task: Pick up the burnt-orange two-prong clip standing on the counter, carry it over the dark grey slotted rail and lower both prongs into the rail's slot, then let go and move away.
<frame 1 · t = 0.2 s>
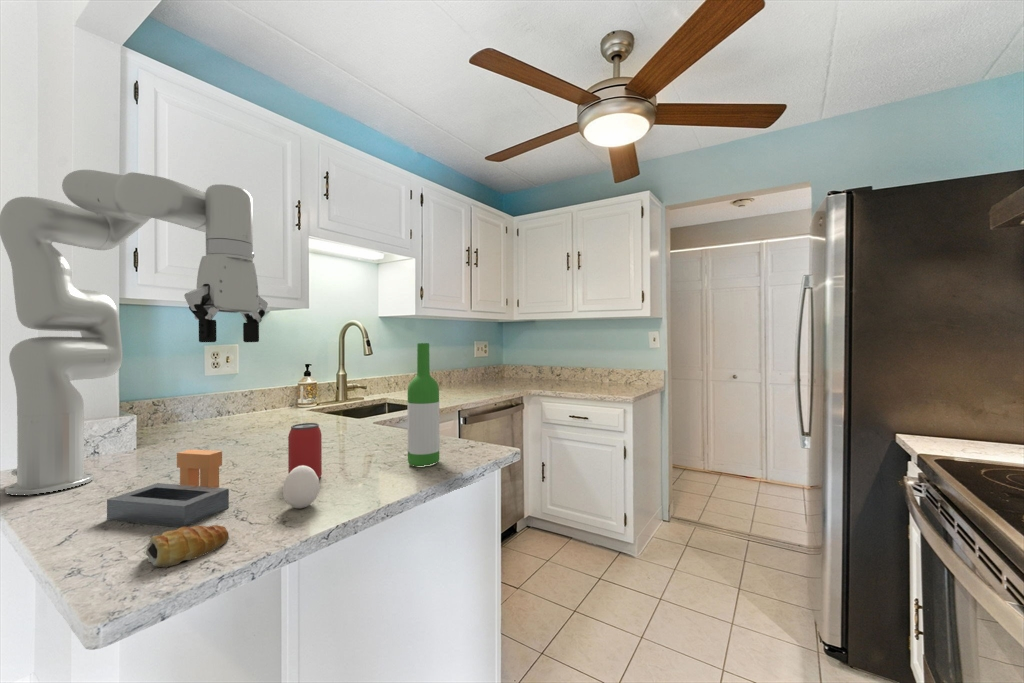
hand: (230, 342, 81), 30 cm above the counter, tool pointing down, fingers open, 9 cm apart
pastry: (184, 555, 61), on the counter
egg: (301, 508, 77), on the counter
beer can: (305, 480, 93), on the counter
clip: (199, 488, 88), on the counter
wine bottle: (423, 464, 104), on the counter
rail: (169, 513, 75), on the counter
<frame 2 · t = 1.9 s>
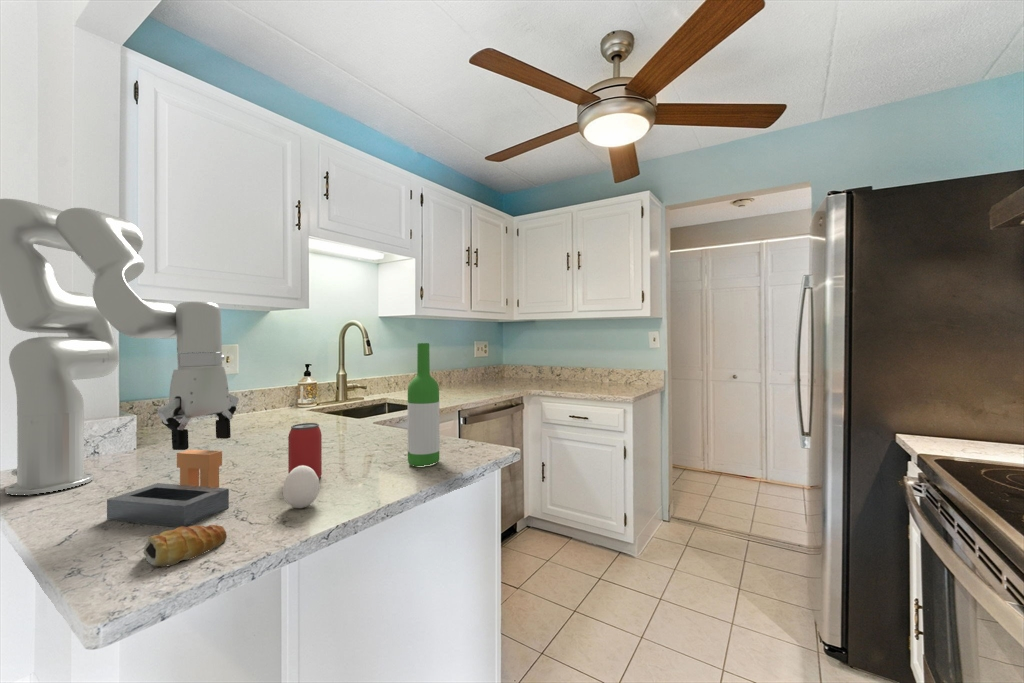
hand: (203, 443, 88), 9 cm above the counter, tool pointing down, fingers open, 9 cm apart
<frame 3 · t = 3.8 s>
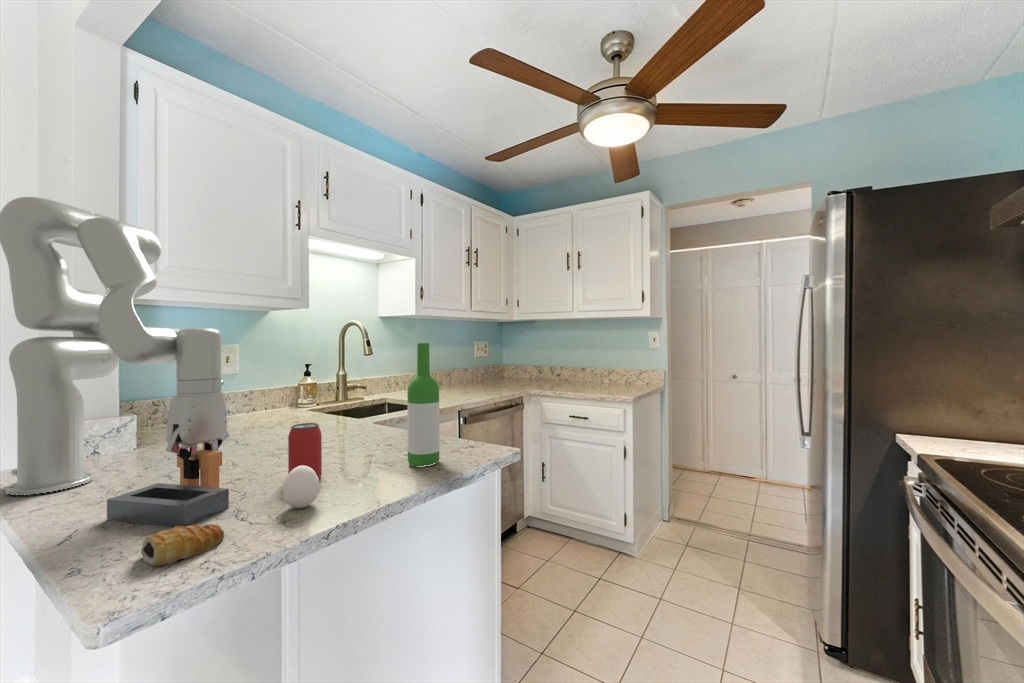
hand: (199, 474, 88), 3 cm above the counter, tool pointing down, fingers closed on clip, 3 cm apart
clip: (199, 488, 88), on the counter, touching gripper
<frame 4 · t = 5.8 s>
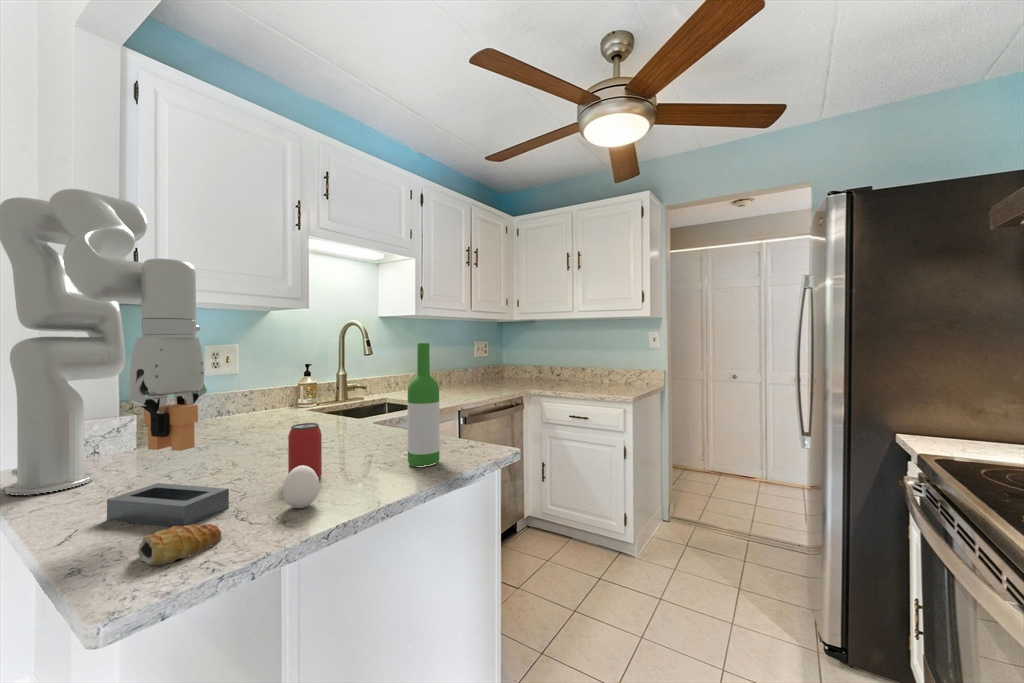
hand: (171, 433, 74), 14 cm above the counter, tool pointing down, fingers closed on clip, 3 cm apart
clip: (171, 448, 74), point 12 cm above the counter, touching gripper
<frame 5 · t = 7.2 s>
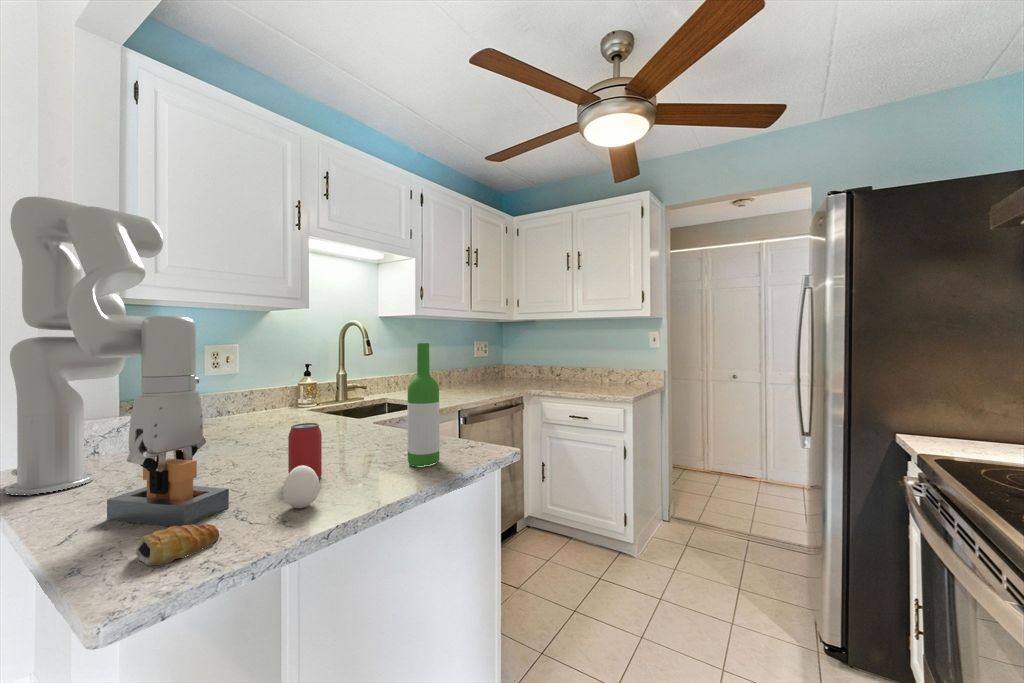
hand: (169, 488, 75), 4 cm above the counter, tool pointing down, fingers closed on clip, 3 cm apart
clip: (170, 503, 75), point 2 cm above the counter, touching gripper
when the fingers open (4 cm above the counter, at t = 8.0 s): clip drops 2 cm, resting in rail.
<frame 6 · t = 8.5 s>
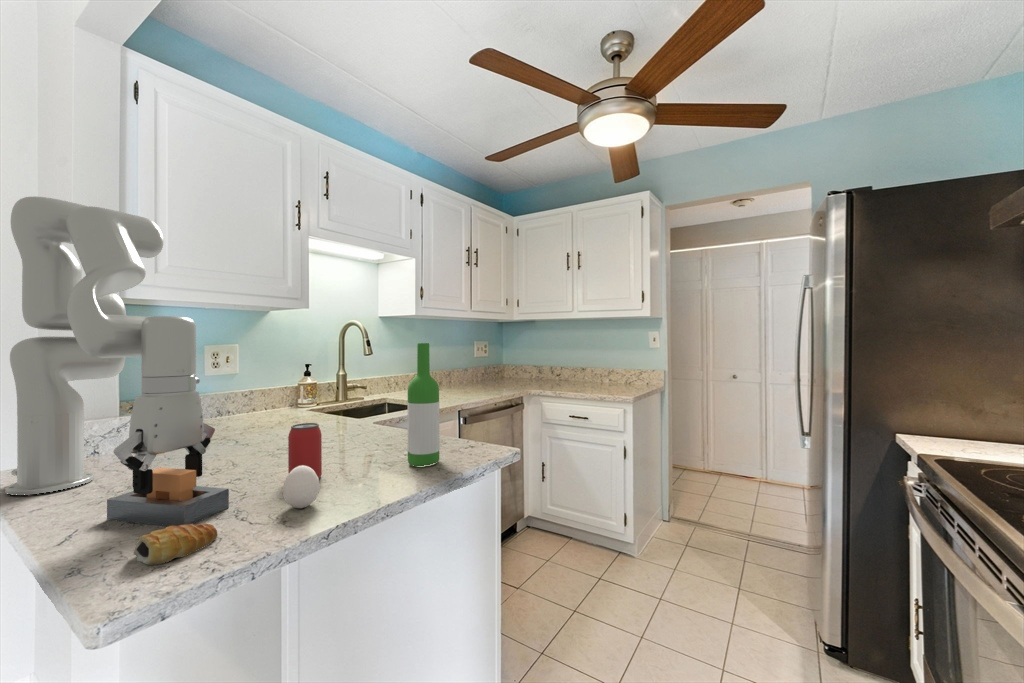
hand: (169, 483, 75), 5 cm above the counter, tool pointing down, fingers open, 8 cm apart
clip: (169, 513, 75), resting in rail
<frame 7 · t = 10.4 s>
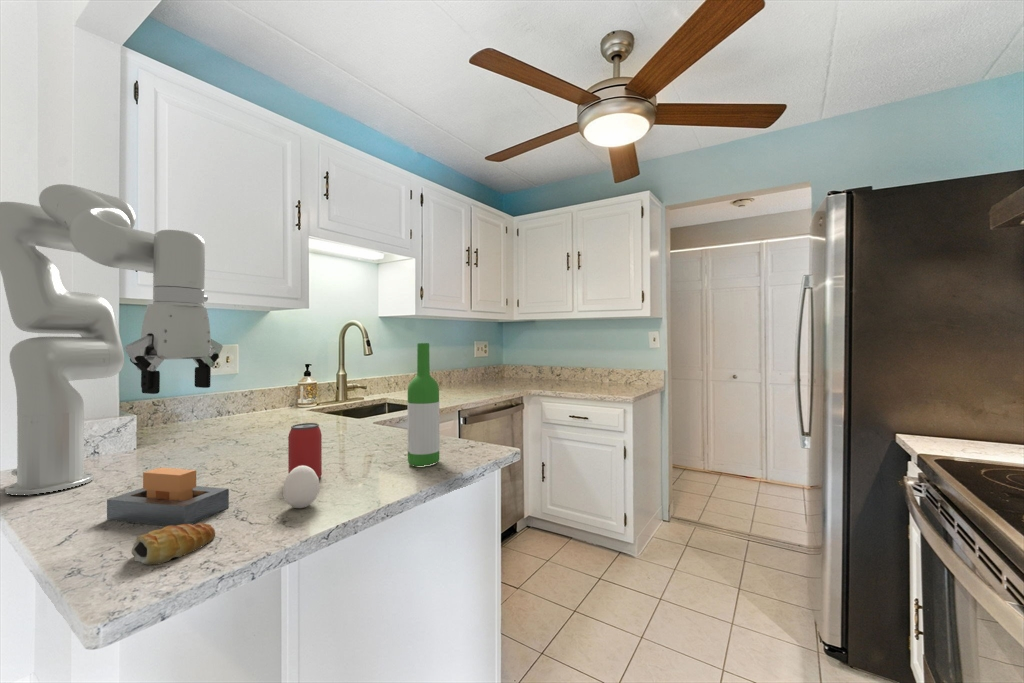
hand: (178, 390, 79), 21 cm above the counter, tool pointing down, fingers open, 9 cm apart
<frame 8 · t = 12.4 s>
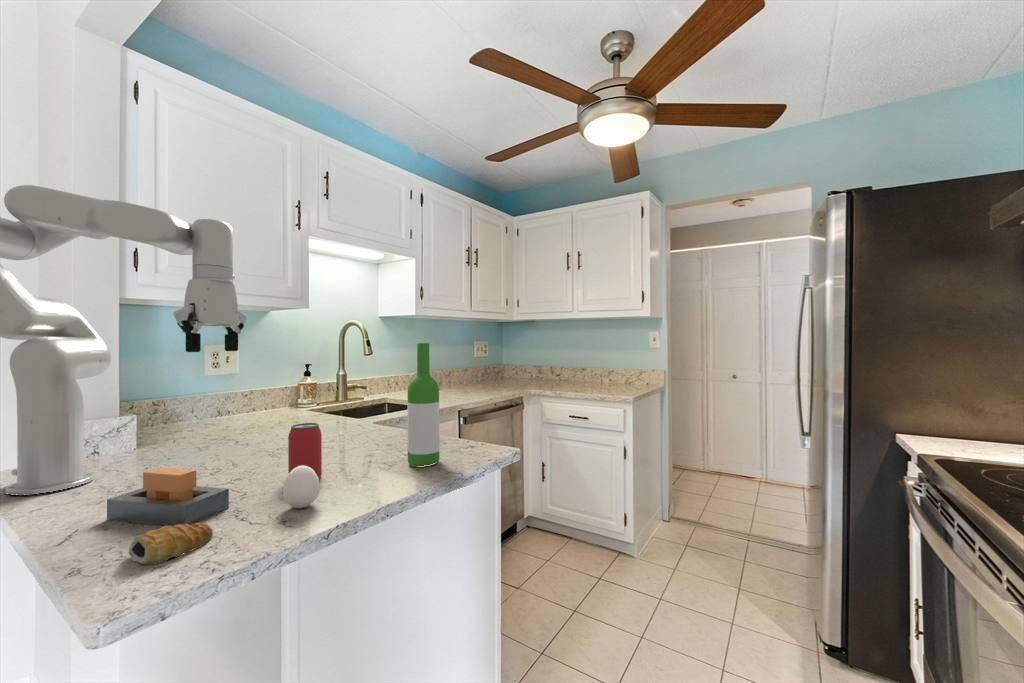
hand: (213, 351, 95), 28 cm above the counter, tool pointing down, fingers open, 9 cm apart
at the end: clip 0.0 cm off-centre on the rail, point 0.0 cm above the rail's base; clip tilted 0°; the gripper is holding nothing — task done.
